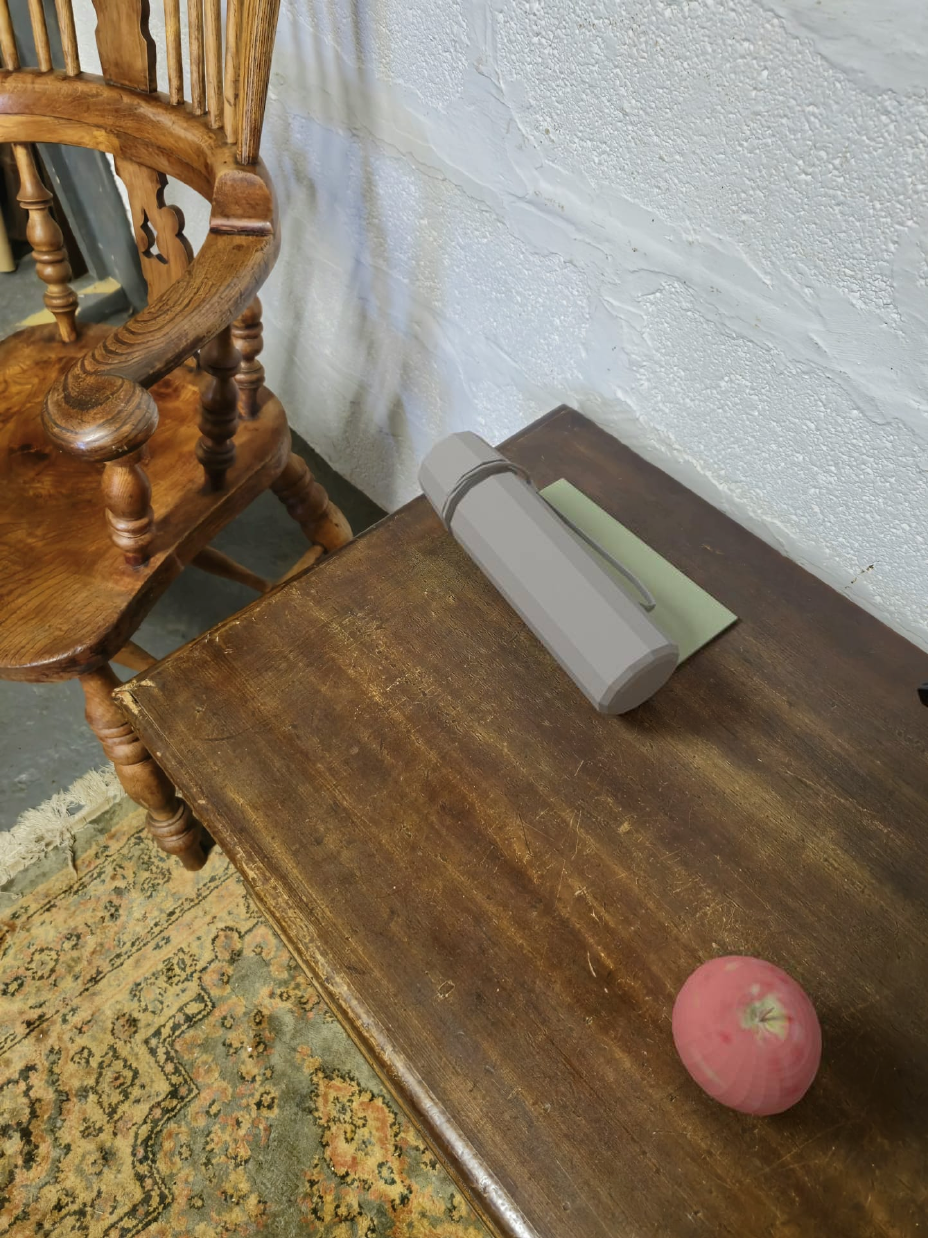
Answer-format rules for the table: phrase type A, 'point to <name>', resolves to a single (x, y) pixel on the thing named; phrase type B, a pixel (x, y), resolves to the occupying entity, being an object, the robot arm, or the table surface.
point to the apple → (747, 1034)
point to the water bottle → (549, 574)
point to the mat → (646, 573)
